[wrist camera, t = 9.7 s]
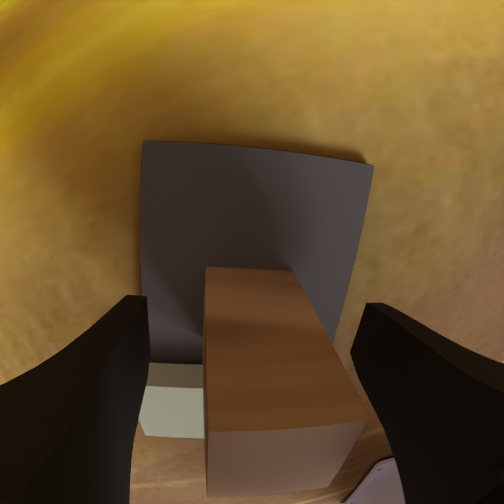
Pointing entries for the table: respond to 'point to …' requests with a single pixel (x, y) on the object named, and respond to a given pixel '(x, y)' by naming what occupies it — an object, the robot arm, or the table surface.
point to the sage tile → (173, 401)
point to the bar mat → (242, 230)
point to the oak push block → (271, 388)
